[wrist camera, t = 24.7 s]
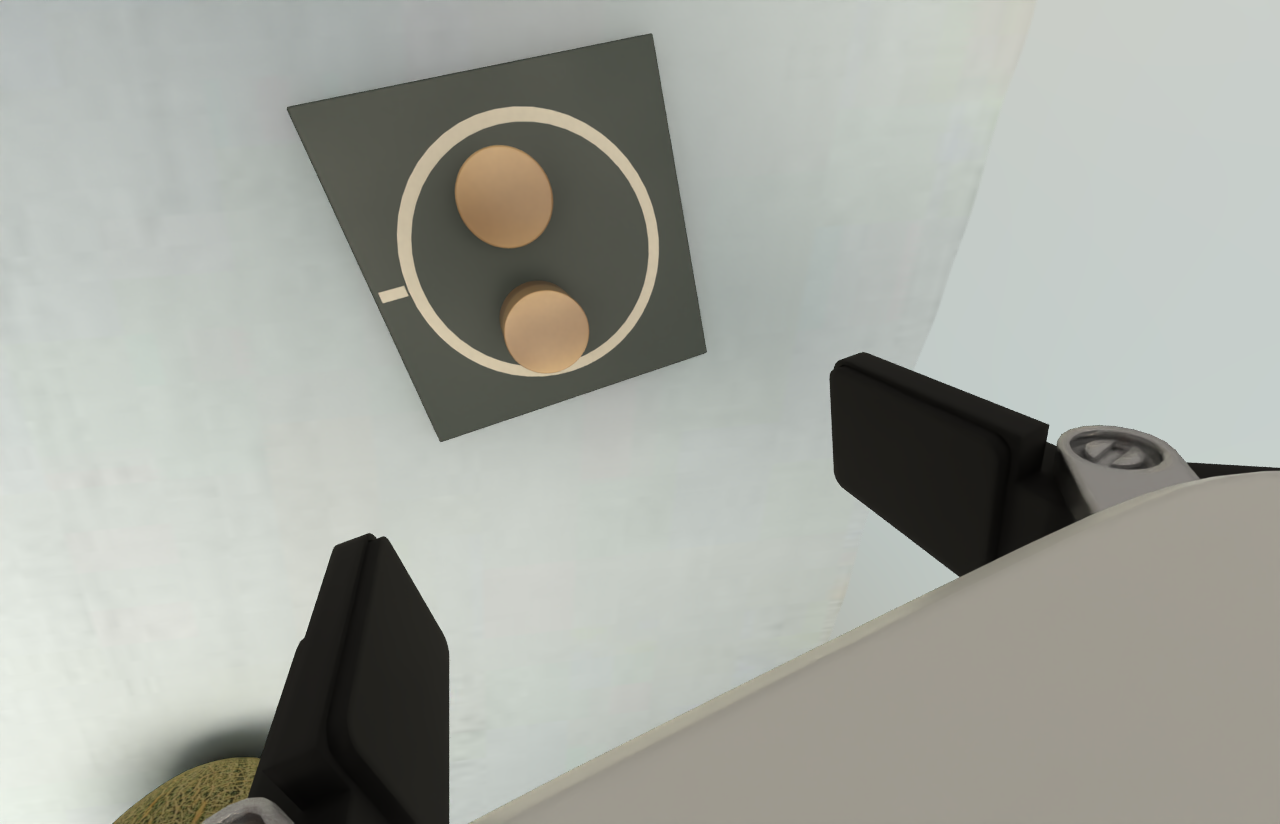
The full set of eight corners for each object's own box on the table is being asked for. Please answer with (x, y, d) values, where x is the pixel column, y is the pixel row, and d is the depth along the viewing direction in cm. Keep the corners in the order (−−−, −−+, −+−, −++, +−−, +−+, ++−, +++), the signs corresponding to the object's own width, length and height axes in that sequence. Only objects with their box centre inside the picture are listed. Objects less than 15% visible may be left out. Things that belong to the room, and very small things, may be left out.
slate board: (292, 110, 21) (284, 106, 20) (645, 38, 24) (653, 31, 23) (440, 435, 29) (440, 444, 28) (700, 348, 32) (708, 353, 31)
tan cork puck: (441, 161, 23) (439, 157, 20) (528, 141, 24) (537, 134, 21) (473, 252, 25) (475, 259, 22) (553, 230, 25) (564, 235, 23)
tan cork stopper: (488, 293, 25) (491, 304, 23) (565, 271, 26) (576, 279, 24) (514, 366, 27) (520, 384, 25) (585, 343, 28) (598, 359, 25)
